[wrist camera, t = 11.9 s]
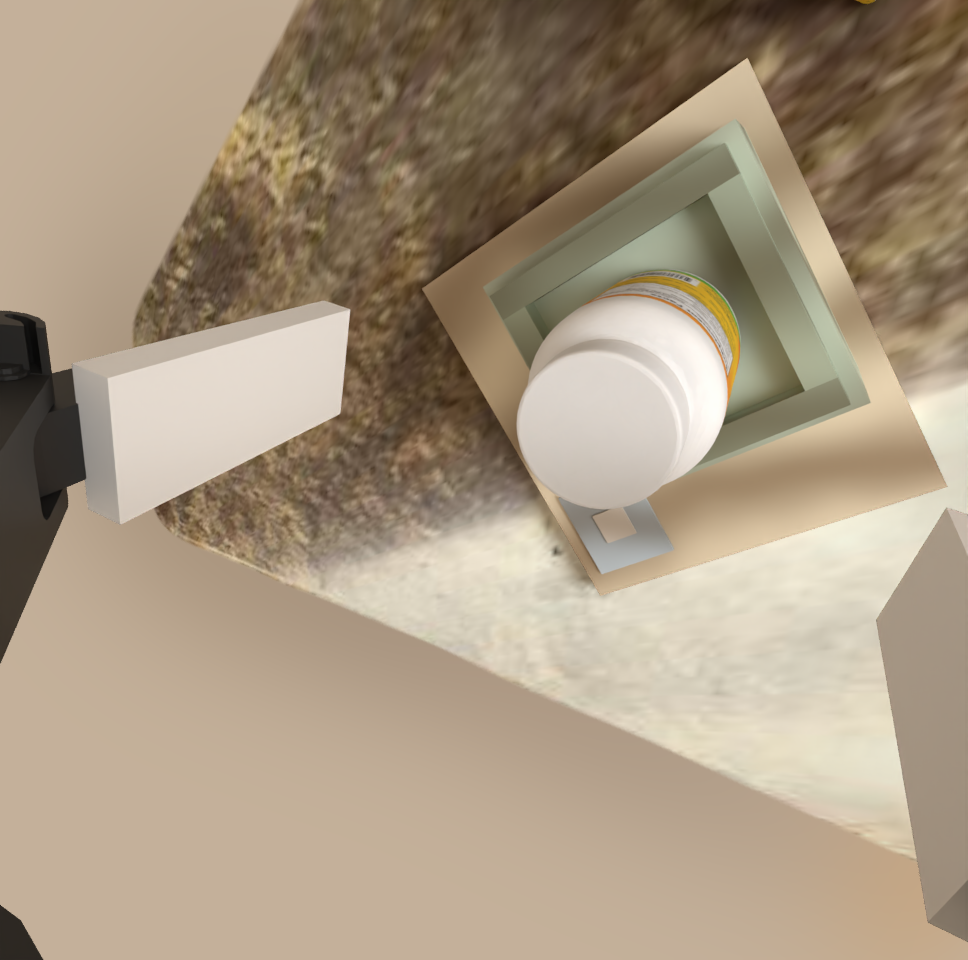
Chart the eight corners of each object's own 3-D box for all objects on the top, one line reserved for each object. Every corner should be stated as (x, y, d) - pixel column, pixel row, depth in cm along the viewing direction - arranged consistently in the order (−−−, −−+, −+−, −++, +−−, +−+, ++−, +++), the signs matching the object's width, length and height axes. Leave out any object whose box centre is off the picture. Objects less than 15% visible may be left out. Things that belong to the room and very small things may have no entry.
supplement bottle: (645, 443, 25) (576, 571, 17) (559, 331, 25) (447, 407, 17) (775, 361, 22) (767, 468, 14) (680, 232, 22) (615, 266, 14)
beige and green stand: (941, 475, 27) (984, 560, 21) (605, 583, 36) (568, 666, 30) (749, 62, 25) (736, 26, 19) (433, 285, 33) (353, 309, 27)
